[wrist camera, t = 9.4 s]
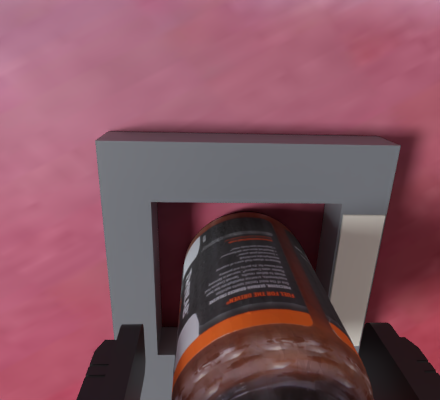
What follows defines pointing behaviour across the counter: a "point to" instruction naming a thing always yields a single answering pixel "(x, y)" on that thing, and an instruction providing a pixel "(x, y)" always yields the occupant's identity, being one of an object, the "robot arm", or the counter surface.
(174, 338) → the socket panel
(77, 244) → the counter surface
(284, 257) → the supplement bottle
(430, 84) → the counter surface
